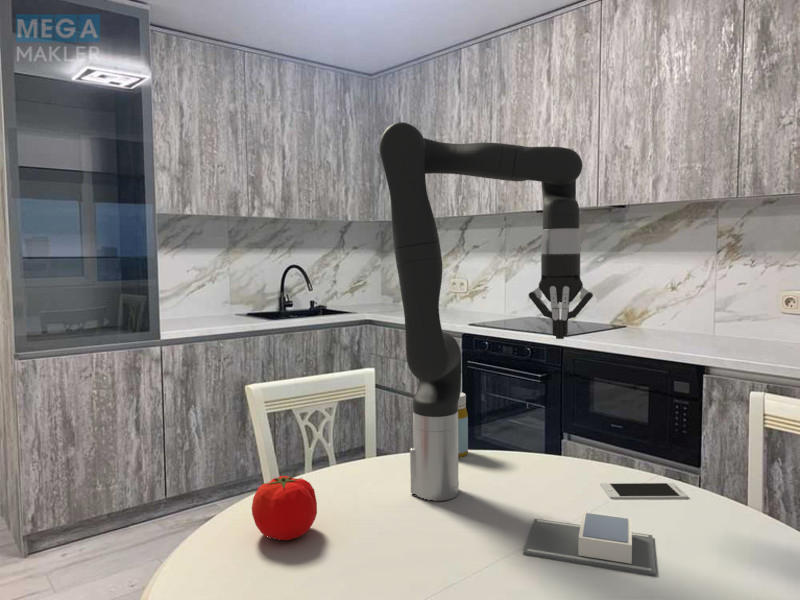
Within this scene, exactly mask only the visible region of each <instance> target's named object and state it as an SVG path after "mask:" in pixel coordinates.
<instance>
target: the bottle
mask: <svg viewBox="0 0 800 600" xmlns="http://www.w3.org/2000/svg"><path fill="white" fill-rule="evenodd" d="M466 400H467V395H466V393H464V392H460V397H459V401H458V459H460V458H459V457H461V458H464V457H466V455H468V453H469V439H468V438H469V425H468V424H469V418H468V417H469V415H468V411H467V410H468V409H467V408H466V407H467V405H466V403H467V401H466Z"/></svg>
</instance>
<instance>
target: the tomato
mask: <svg viewBox="0 0 800 600" xmlns="http://www.w3.org/2000/svg"><path fill="white" fill-rule="evenodd" d="M317 502H318V501H317V497H316V492H315V488H314V487H313V486H312V484H311V483H310V482H309V481H308V480H305V479H304V478H301V477H299V478H295V477H292V476H289V475H281V476H278V477H275V478H274V477H273V478H272V479H271V480H270V481H269V482H265V483H263V484H261V485H260V486H259V487H258V488H257V489H256V491H255V494H254V495H253V497H252V504H251V515H252V518H253V520H254V523H255V526H256V527H257V529H258V530H259V532H260V533H261V534H263V536H265V537H267V536H268V537H271V538H270V539H272V538H275V539H274V540H276V539H279V540H278V541H280V540H286V541H291V540H290V539H292V540H295V539H298V538H300V537H302V536H304V535H305V534H306V533H307V532H308V531H309V530H310V529H311V527H312V526H313V524H314V522H315V520H316V518H317V514H318V506H317V505H318V503H317ZM268 537H267V538H268ZM294 538H295V539H294Z"/></svg>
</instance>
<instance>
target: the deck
mask: <svg viewBox="0 0 800 600" xmlns="http://www.w3.org/2000/svg"><path fill="white" fill-rule="evenodd" d="M579 525H580V531H579V539H578V555H579V556H585V557H591V558H598V559H604V560H610V561H617V562H623V563H629V564H632V531H633V530H632V527H633V526H632V517H624V516H617V515H609V514H602V513H601V514H600V513H596V512H595V513H593V512H588V511H587V512H586V511H582V515H581V520H580V524H579Z"/></svg>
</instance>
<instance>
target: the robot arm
mask: <svg viewBox="0 0 800 600" xmlns="http://www.w3.org/2000/svg"><path fill="white" fill-rule="evenodd" d="M378 149H379V150H378V151H379V155H380V159H381V163H382V166H383V170H384V174H385V179H386V182H387V186H388V187H387V188H388V192H389V198H390V210H391V211H390V216H391V228H392V241H393V250H394V255H395V264H396V270H397V274H398V283H399V287H400V296H401V301H402V306H403V315H404V316H403V318H404V329H405V330H404V332H405V334H404V335H405V353H406V355H405V356H406V362H407V365H408V368H409V371H410V372H411V374H412V375H413V376H414V378H416V379H418V386H417V389H416V392H415V394H414V396H413V398H412V427H413V430H412V431H413V434H412V435H413V437H412V438H413V442H412V443H413V447H411V448H410V451H409V457H410V458H409V459H410V463H409V464H410V466H409V467H410V472H409V473H410V494H411V493H412V494H416V495H417V496H416V495H415V496H416V497H418V496H419V497H421V498H420V499H422V498H424V499H423V500H425V499H428V500H427V501H430V500H433V501H432V502H443V501H448V500H451V499H454V498H456V497H457V496H458V495H459V492H460V491H459V485H460V484H459V483H460V481H459V458H458V401H459V397H460V392H461V391H462V352H461V348H460V345H459V343H458V341H457V340H456V338H454V336H452V335H451V334H449V333H447V332H444V331H443V330H442V324H441V318H440V317H441V316H440V308H439V307H440V294H441V288H442V287H441V286H442V280H443V259H442V250H441V242H440V237H439V234H438V228H437V223H436V220H435V216H434V213H433V209H432V207H431V203H430V199H429V196H428V195H429V194H428V189H427V183H426V175H427V174H428V175H430V174H437V175H438V174H447V175H458V176H461V175H462V176H468V177H475V178H484V179H492V180H498V181H499V180H500V181H508V182H525V181H534V182H541V183H540V184H541V193H542V194H541V195H542V200H543V202H542V203H543V206H542V234H541V245H540V246H541V250H540V255H541V257H540V258H541V260H540V265H541V266H540V267H541V268H540V271H541V272H540V274H541V277H540V281H539V282H538V287H536V288H535V289H534V290H533V291H531V292H529V293H528V297H529V299H530V300H531V302H532V303H533V304H534V305H535V307H536V308H537V310H539V312H540V313H541V314H542V315H543V317H545V318H549V319H550V320H551V321H552V335H553V337H555V339H556V340H564V339H565V337H567V335H568V331H569V327H568V326H569V320H570V319H573V318H576V317H577V316H578V315H579V314H580V312H581V311H582V310H583V309H584V307H585V306H586V305H587V304H588V303H589V302H590V300H591V299H592V298H593V296H594V294H593V292H592V291H589V290H588V289H586V288H585V287H583V286H584V284H583V281H582V279H581V251H582V246H581V235H580V206H579V203H578V201H577V190H576V189H577V179H578V178H579V177H580V175H581V173H582V170H583V161H582V158H581V156H580V155H579V154H578V153H577V152H576V151H575V150H573V149H571V148H568V147H562V146H524V145H519V144H518V145H517V144H511V143H503V142H473V143H472V142H471V143H470V142H469V143H449V142H442V141H438V140H437V141H436V140H433V139H429V138H425V137H424V136H423V134H422V133H421V131H420V130H419V129H418V128H417V127H416V126H413V125H412V124H410V123H408V122H402V121H399V122H394V123H391V125H389V126H388V127H387V128H386V129H385V131H384V132H383V133H382V135H381V137H380V141H379V145H378ZM579 293H580V294H579ZM542 294H543V295H544V296H545V298H546V300H547V301H548V302H550V305H551V306H550V307H551V310H550V308H548V307H547V305H546V304H545V303H544V301H543V300H542ZM578 294H579V299H580V301H579V302H578V304H577V305H576V306H575V307H574V308H573V310H571V311H570V305H571V302H573V301H574V299H575V298H576V297H577V295H578ZM560 303H561V313H560ZM560 314H561V315H560ZM419 497H418V498H419Z"/></svg>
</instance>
